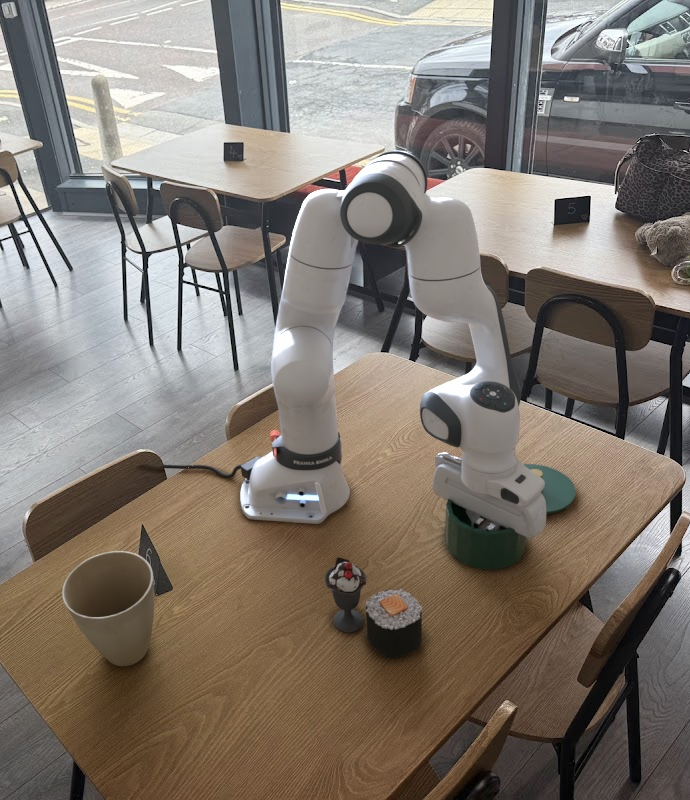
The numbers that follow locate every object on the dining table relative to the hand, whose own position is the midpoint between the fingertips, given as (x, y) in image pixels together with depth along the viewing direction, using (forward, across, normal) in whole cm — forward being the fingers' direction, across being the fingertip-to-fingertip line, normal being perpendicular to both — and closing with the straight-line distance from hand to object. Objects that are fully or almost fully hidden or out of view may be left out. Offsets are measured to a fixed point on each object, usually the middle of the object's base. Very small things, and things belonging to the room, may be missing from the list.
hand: (484, 531), depth 142 cm
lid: (+2, -1, +18) cm, 18 cm away
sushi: (+3, +1, -28) cm, 28 cm away
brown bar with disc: (+2, 0, +1) cm, 2 cm away
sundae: (+3, -7, -30) cm, 31 cm away
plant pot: (+3, -31, -60) cm, 67 cm away
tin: (+3, 0, 0) cm, 3 cm away
